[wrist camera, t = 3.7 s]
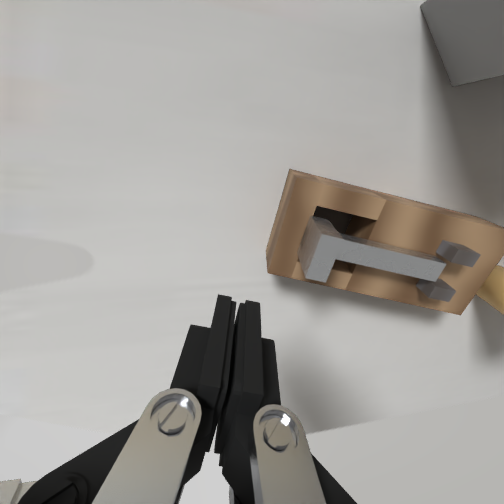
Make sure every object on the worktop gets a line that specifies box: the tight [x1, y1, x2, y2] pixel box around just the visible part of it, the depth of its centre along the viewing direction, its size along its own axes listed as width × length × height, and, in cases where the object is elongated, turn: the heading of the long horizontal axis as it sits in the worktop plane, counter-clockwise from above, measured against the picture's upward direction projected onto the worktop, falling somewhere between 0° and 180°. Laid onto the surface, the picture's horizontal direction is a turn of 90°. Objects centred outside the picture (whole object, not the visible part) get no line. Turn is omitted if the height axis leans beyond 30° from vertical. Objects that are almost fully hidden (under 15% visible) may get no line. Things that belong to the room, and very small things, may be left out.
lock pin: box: [297, 216, 446, 283], centre depth 21 cm, size 12×4×4 cm, turn 76°
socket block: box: [266, 169, 504, 315], centre depth 25 cm, size 20×9×7 cm, turn 76°
